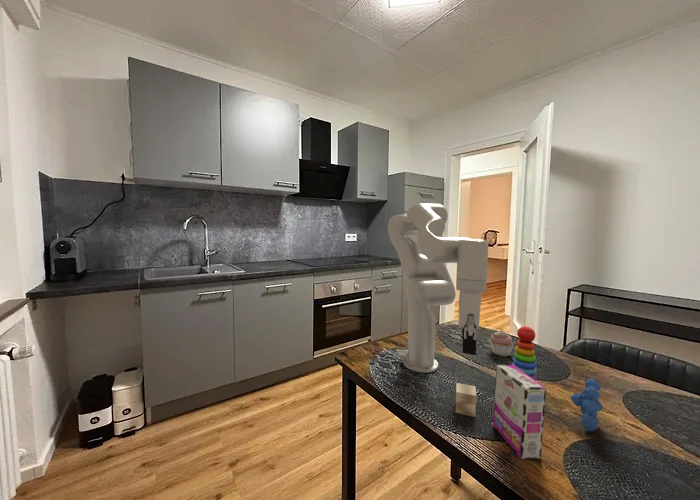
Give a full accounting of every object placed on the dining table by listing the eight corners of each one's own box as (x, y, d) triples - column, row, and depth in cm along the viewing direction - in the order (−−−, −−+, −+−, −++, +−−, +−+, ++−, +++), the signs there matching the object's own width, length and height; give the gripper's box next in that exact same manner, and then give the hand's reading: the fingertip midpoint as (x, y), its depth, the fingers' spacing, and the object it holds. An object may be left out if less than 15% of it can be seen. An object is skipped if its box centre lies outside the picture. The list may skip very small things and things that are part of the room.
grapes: (570, 408, 82) (573, 367, 81) (601, 418, 77) (605, 375, 76) (566, 429, 73) (569, 384, 72) (601, 442, 69) (605, 394, 68)
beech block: (455, 412, 79) (456, 392, 79) (455, 402, 84) (456, 382, 84) (475, 417, 78) (476, 395, 77) (474, 406, 82) (475, 386, 82)
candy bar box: (542, 459, 64) (547, 388, 62) (521, 460, 63) (525, 389, 62) (510, 424, 75) (514, 363, 73) (492, 425, 74) (495, 364, 73)
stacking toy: (541, 390, 90) (545, 332, 89) (513, 387, 92) (517, 330, 90) (531, 377, 98) (534, 324, 97) (505, 375, 100) (508, 322, 98)
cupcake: (492, 346, 124) (493, 323, 123) (516, 353, 117) (518, 329, 116) (484, 353, 117) (485, 329, 116) (509, 361, 110) (511, 335, 110)
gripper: (456, 278, 87) (454, 333, 89) (455, 290, 71) (453, 357, 73) (483, 280, 85) (481, 337, 86) (489, 292, 69) (486, 362, 70)
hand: (468, 346), depth 79 cm, fingers open, 9 cm apart
